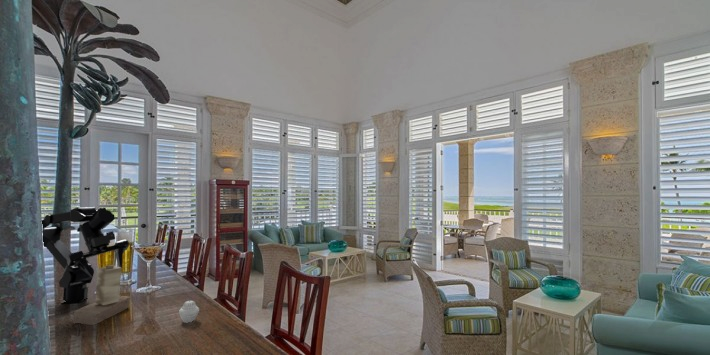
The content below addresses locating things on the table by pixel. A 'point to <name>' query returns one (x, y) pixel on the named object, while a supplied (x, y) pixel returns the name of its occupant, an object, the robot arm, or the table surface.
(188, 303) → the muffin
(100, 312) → the brick
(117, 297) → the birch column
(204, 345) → the table surface
